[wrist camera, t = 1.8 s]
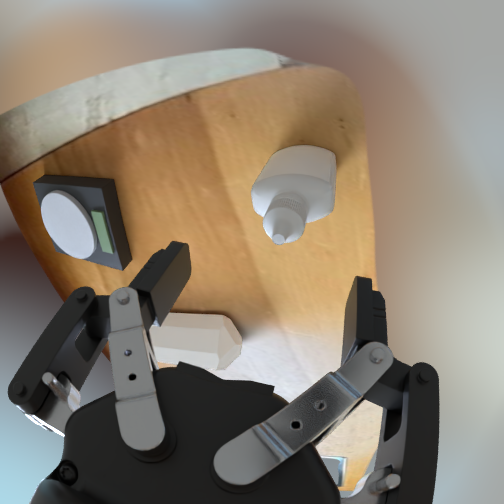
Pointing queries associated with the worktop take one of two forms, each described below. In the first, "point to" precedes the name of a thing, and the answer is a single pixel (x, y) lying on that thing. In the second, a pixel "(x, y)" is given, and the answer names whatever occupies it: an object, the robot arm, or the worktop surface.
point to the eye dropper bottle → (295, 190)
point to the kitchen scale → (84, 218)
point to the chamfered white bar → (196, 340)
